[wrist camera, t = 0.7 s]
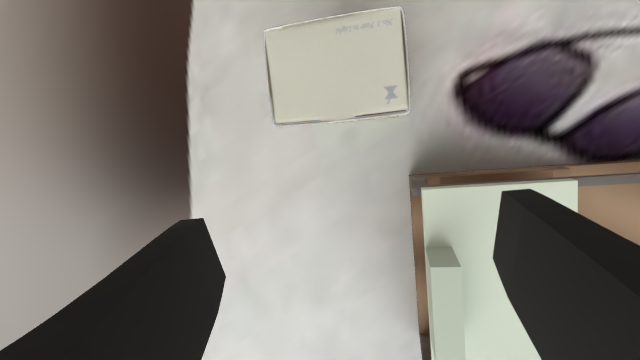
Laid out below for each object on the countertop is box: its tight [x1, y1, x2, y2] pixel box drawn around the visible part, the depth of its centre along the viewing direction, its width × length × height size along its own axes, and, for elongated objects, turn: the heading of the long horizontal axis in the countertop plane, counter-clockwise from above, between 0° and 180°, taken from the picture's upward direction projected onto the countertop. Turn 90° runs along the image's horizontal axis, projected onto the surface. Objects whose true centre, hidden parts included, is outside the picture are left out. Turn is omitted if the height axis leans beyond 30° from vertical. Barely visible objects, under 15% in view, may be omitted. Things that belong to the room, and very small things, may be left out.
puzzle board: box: [409, 159, 640, 360], centre depth 22 cm, size 13×22×5 cm, turn 96°
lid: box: [421, 178, 578, 360], centre depth 19 cm, size 13×8×4 cm, turn 6°
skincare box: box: [263, 6, 411, 127], centre depth 20 cm, size 6×4×12 cm
